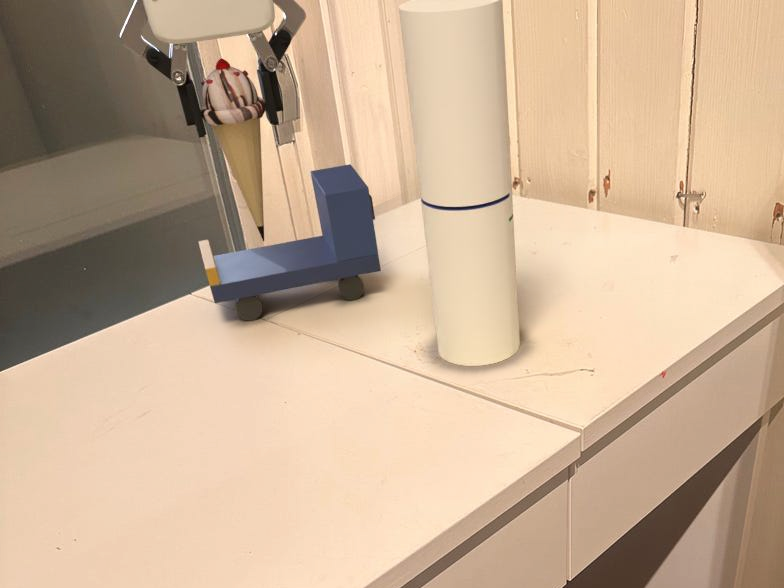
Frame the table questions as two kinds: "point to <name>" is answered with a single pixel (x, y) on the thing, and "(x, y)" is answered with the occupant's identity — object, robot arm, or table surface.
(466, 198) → the cylindrical container
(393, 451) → the table surface
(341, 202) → the flatbed truck
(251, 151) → the ice cream cone
